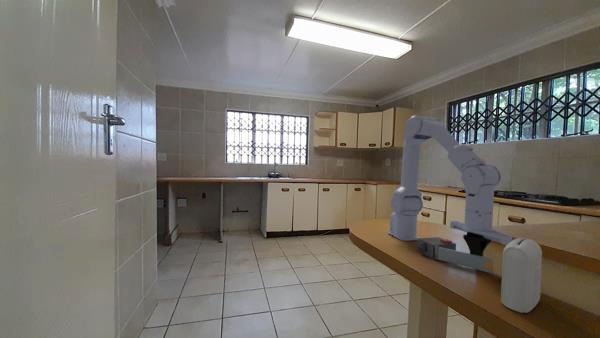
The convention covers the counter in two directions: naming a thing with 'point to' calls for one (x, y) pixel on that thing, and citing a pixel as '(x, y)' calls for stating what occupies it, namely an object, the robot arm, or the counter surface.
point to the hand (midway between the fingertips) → (476, 263)
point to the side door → (464, 259)
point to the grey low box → (433, 245)
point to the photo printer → (521, 275)
